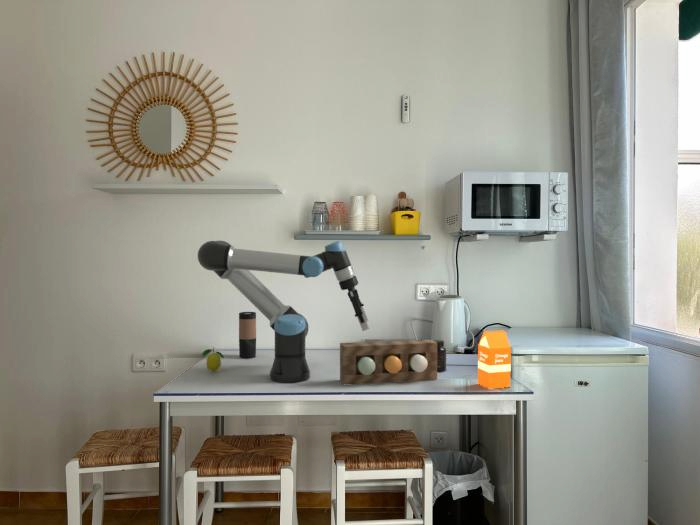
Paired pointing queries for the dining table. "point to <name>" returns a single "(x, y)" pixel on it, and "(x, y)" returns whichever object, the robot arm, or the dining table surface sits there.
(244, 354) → the travel mug
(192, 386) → the dining table surface
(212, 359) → the lemon
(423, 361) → the button ivory
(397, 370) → the button orange
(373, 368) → the button sage
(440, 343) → the supplement bottle
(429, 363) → the control box
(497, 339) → the orange juice
